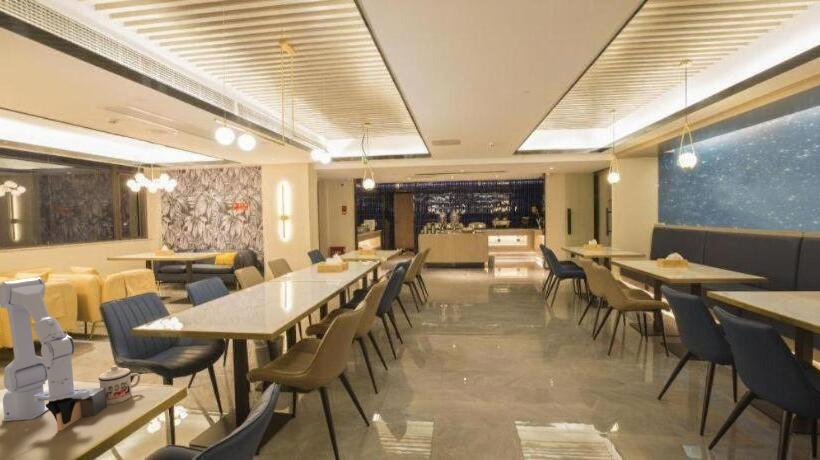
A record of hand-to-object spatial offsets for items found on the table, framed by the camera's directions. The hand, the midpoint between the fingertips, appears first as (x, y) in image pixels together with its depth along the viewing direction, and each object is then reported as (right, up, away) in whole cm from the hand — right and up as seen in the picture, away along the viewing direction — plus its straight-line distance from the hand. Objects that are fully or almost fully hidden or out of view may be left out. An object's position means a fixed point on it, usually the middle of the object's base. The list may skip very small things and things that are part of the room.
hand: (64, 422), depth 126 cm
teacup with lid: (+4, 0, +19) cm, 20 cm away
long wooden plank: (0, -1, +4) cm, 4 cm away
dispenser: (0, -1, +9) cm, 9 cm away
